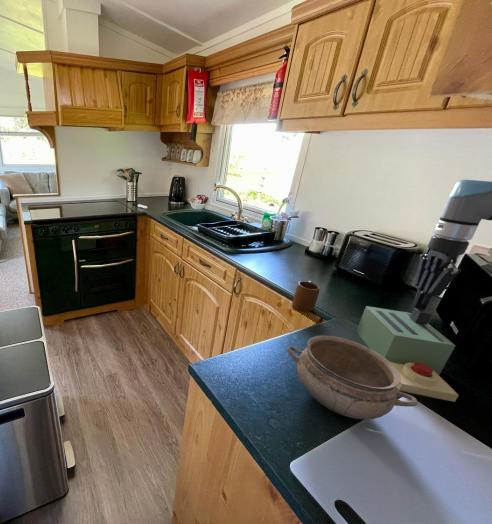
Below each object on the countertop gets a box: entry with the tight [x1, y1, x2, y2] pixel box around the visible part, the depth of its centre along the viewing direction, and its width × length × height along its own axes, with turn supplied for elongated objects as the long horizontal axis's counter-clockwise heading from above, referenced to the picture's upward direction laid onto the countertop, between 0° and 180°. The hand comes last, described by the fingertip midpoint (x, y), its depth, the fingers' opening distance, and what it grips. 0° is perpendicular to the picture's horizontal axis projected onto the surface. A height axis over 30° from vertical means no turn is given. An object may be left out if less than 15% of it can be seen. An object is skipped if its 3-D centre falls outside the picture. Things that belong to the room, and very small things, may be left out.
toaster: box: [355, 305, 456, 376], centre depth 87 cm, size 14×17×10 cm
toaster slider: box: [410, 308, 433, 325], centre depth 86 cm, size 3×3×4 cm
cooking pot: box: [286, 335, 419, 420], centre depth 66 cm, size 25×19×12 cm
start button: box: [412, 363, 433, 377], centre depth 74 cm, size 4×4×2 cm
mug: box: [291, 280, 321, 312], centre depth 112 cm, size 12×8×9 cm, turn 145°
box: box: [390, 362, 460, 403], centre depth 75 cm, size 12×9×4 cm
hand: (416, 311), depth 88 cm, fingers closed
